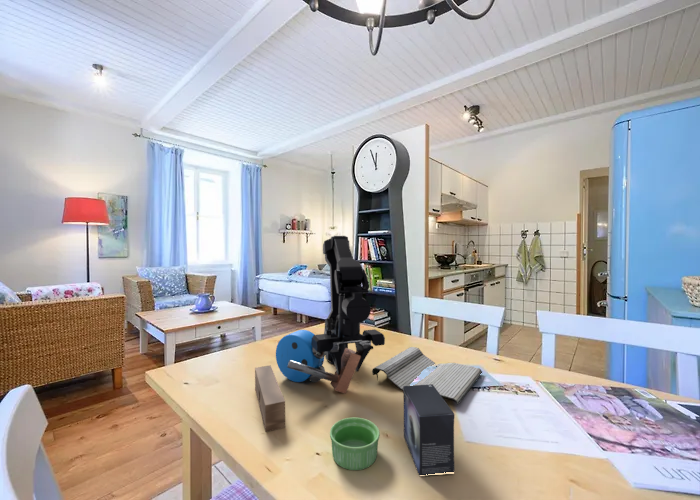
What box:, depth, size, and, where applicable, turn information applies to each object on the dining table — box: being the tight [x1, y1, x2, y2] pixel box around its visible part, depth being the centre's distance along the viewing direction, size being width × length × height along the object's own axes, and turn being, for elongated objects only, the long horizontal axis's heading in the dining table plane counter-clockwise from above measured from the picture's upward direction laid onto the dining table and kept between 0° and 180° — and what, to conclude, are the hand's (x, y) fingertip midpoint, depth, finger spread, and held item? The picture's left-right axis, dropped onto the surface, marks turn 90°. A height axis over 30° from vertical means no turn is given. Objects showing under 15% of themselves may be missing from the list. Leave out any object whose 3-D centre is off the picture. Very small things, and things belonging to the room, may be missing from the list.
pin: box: [288, 347, 361, 394], centre depth 77 cm, size 16×4×10 cm, turn 113°
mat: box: [371, 346, 483, 405], centre depth 86 cm, size 23×24×5 cm
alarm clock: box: [275, 329, 327, 383], centre depth 85 cm, size 13×6×15 cm
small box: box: [402, 384, 455, 476], centre depth 55 cm, size 11×6×10 cm, turn 5°
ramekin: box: [329, 417, 380, 471], centre depth 55 cm, size 9×9×4 cm
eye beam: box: [254, 365, 286, 433], centre depth 71 cm, size 4×20×6 cm, turn 23°
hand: (347, 372), depth 79 cm, fingers closed on pin, 5 cm apart
